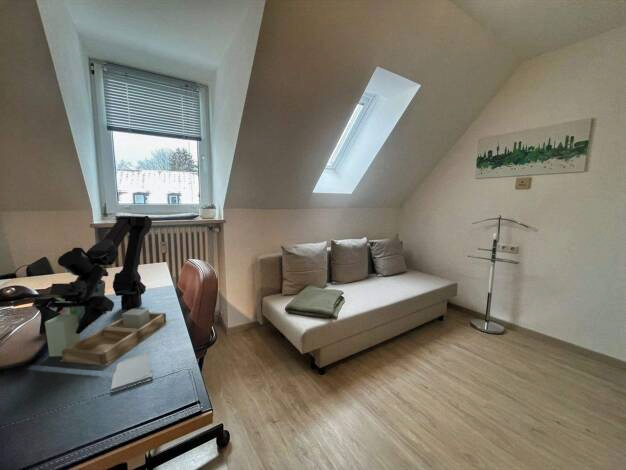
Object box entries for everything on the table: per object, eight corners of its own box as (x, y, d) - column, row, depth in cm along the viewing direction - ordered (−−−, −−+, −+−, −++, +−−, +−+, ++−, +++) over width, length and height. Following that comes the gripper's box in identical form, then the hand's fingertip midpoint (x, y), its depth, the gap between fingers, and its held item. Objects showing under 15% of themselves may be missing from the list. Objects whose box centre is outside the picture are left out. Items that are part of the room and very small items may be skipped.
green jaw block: (64, 350, 73) (60, 314, 72) (81, 349, 74) (76, 314, 72) (50, 359, 69) (44, 322, 67) (67, 359, 69) (62, 321, 68)
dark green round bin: (78, 310, 99) (75, 281, 97) (111, 306, 103) (108, 278, 102) (68, 321, 90) (64, 289, 88) (104, 316, 94) (101, 285, 93)
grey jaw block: (133, 325, 86) (132, 308, 85) (150, 326, 86) (148, 309, 85) (124, 331, 82) (122, 313, 81) (140, 332, 82) (139, 315, 81)
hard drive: (152, 376, 62) (151, 350, 72) (110, 389, 57) (115, 360, 67) (152, 382, 62) (151, 355, 72) (110, 395, 57) (115, 365, 68)
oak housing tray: (132, 321, 91) (131, 311, 90) (168, 324, 89) (168, 313, 89) (60, 364, 67) (58, 350, 66) (107, 368, 66) (106, 354, 65)
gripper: (33, 270, 71) (-6, 325, 62) (103, 269, 73) (75, 323, 64) (62, 287, 80) (31, 338, 71) (123, 286, 82) (102, 336, 72)
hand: (59, 334), depth 69 cm, fingers open, 9 cm apart
